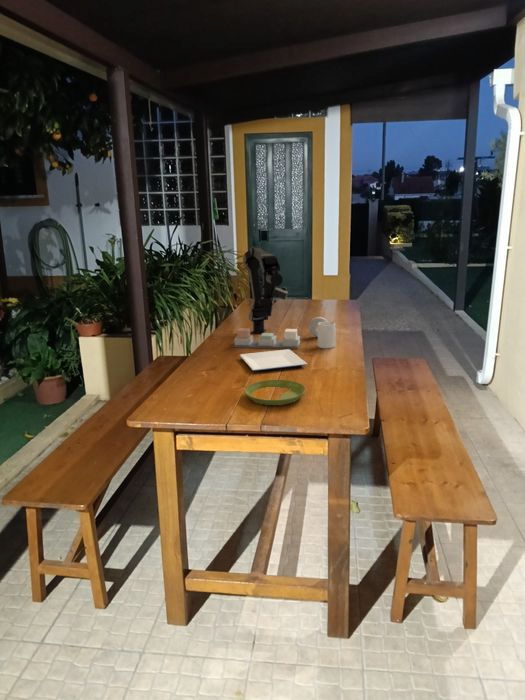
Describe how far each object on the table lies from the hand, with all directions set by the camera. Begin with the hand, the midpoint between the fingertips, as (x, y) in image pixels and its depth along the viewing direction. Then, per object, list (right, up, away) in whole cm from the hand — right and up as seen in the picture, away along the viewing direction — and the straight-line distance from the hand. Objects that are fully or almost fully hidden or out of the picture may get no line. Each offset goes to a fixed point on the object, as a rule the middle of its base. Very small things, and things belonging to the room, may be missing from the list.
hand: (269, 316), depth 256 cm
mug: (+26, -14, -7) cm, 30 cm away
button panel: (-1, -14, -5) cm, 15 cm away
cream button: (+9, -11, -8) cm, 16 cm away
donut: (+24, -10, +6) cm, 26 cm away
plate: (+1, -21, -31) cm, 37 cm away
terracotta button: (-12, -10, -4) cm, 16 cm away
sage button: (-1, -13, -5) cm, 14 cm away
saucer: (+1, -32, -68) cm, 75 cm away
